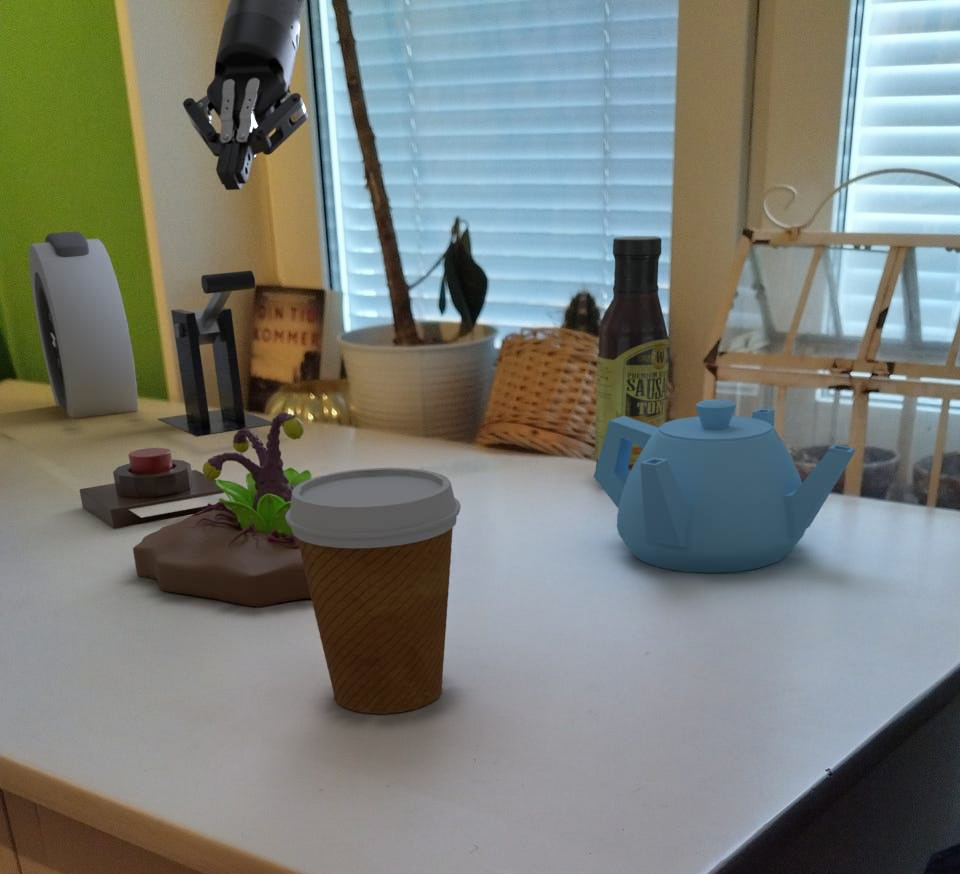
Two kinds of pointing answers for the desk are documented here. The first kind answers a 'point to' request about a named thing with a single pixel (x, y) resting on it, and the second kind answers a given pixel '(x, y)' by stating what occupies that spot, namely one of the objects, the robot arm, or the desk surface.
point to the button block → (146, 494)
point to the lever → (219, 300)
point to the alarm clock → (82, 326)
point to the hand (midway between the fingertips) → (230, 183)
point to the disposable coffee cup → (378, 581)
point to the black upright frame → (193, 380)
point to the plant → (236, 532)
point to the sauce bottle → (632, 343)
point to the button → (150, 460)
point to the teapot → (712, 489)
